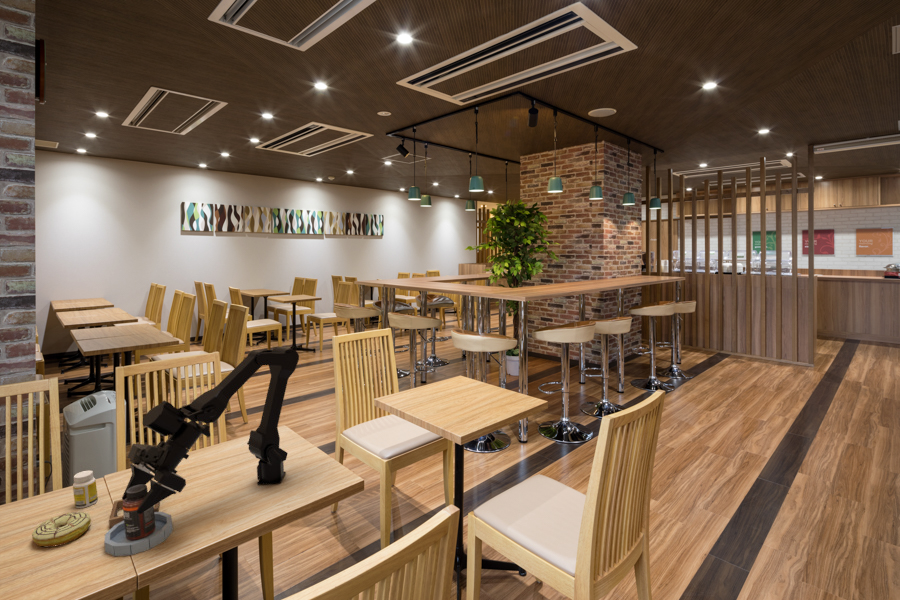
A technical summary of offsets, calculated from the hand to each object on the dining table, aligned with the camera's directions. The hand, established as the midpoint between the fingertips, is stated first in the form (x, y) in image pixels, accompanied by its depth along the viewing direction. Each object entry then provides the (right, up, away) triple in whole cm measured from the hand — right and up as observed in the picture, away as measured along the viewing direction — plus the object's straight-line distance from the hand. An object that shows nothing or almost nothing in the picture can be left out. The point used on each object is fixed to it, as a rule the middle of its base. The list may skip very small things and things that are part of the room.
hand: (130, 506), depth 104 cm
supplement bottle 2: (+1, -8, +2) cm, 8 cm away
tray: (-7, -7, +12) cm, 16 cm away
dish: (+1, -8, +2) cm, 9 cm away
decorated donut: (-18, -9, +3) cm, 21 cm away
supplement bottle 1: (-24, -7, +17) cm, 30 cm away
